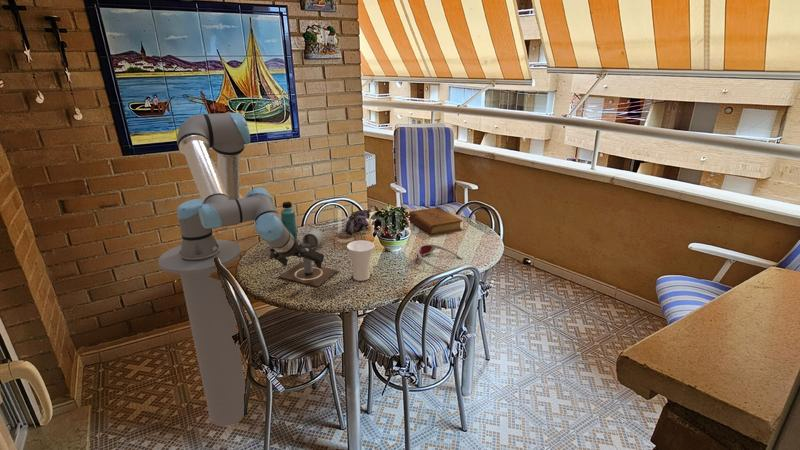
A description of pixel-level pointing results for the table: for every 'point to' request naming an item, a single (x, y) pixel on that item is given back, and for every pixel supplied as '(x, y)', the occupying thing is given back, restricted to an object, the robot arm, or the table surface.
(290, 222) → the beverage bottle
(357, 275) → the cup
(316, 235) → the ceramic mug
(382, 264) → the table surface
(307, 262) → the cylinder
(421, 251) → the sunglasses
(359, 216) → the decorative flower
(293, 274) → the drawing board
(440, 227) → the diary
